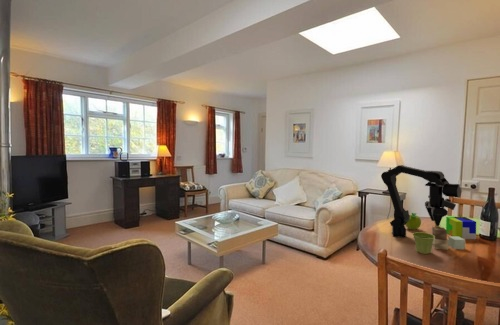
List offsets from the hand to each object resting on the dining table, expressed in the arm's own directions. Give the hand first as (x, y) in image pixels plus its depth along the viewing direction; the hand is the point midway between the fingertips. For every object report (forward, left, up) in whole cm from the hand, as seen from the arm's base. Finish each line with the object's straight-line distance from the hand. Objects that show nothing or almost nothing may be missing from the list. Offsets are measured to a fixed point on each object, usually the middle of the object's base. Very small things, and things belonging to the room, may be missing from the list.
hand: (435, 223), depth 139 cm
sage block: (+9, -1, -12) cm, 15 cm away
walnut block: (+1, -3, -7) cm, 8 cm away
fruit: (-6, +26, -12) cm, 29 cm away
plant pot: (-8, -12, -12) cm, 19 cm away
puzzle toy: (+17, +19, -12) cm, 28 cm away
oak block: (+1, -3, -12) cm, 12 cm away
